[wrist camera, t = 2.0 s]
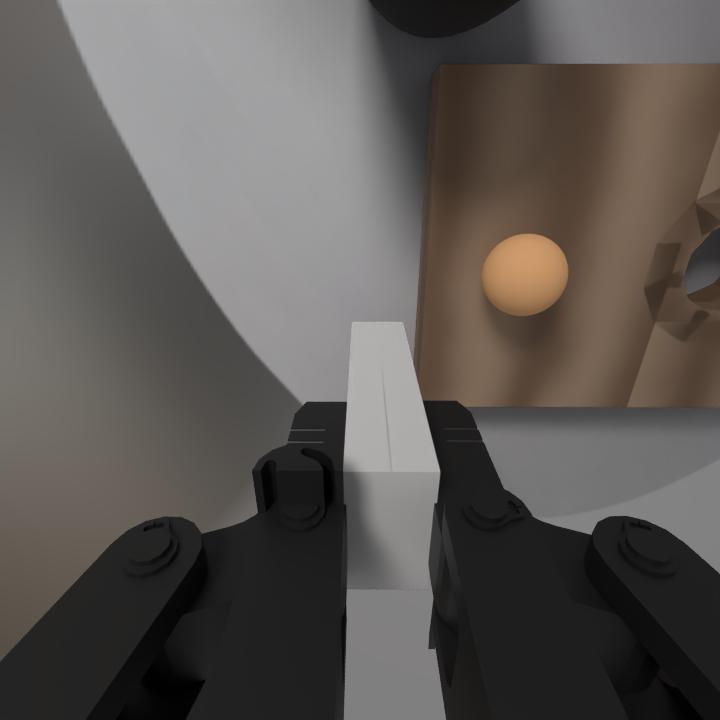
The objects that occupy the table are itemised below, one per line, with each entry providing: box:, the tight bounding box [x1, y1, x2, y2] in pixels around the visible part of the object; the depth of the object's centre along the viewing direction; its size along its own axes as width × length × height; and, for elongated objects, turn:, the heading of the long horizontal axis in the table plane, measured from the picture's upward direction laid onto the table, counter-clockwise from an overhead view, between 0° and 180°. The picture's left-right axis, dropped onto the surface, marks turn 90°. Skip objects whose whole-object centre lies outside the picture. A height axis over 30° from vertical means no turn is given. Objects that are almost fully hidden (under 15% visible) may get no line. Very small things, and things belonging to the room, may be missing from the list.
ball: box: [482, 234, 568, 316], centre depth 21 cm, size 4×4×4 cm
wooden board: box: [413, 64, 720, 408], centre depth 24 cm, size 23×18×3 cm
